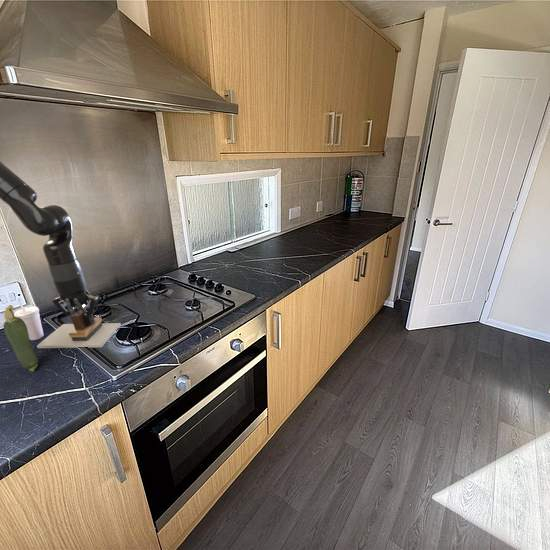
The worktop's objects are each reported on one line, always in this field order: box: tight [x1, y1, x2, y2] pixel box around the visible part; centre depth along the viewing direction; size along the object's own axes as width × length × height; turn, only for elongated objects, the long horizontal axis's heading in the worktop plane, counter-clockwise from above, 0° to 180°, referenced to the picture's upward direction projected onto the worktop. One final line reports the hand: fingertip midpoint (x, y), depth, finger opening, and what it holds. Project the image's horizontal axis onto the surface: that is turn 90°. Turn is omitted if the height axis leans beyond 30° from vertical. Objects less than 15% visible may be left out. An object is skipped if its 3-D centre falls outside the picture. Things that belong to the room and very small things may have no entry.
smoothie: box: [13, 298, 45, 341], centre depth 92 cm, size 6×6×14 cm
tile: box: [36, 322, 122, 349], centre depth 94 cm, size 20×12×1 cm, turn 89°
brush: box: [69, 310, 103, 341], centre depth 93 cm, size 9×5×8 cm, turn 179°
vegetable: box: [3, 304, 39, 372], centre depth 77 cm, size 4×4×20 cm
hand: (85, 324), depth 93 cm, fingers closed on brush, 2 cm apart
